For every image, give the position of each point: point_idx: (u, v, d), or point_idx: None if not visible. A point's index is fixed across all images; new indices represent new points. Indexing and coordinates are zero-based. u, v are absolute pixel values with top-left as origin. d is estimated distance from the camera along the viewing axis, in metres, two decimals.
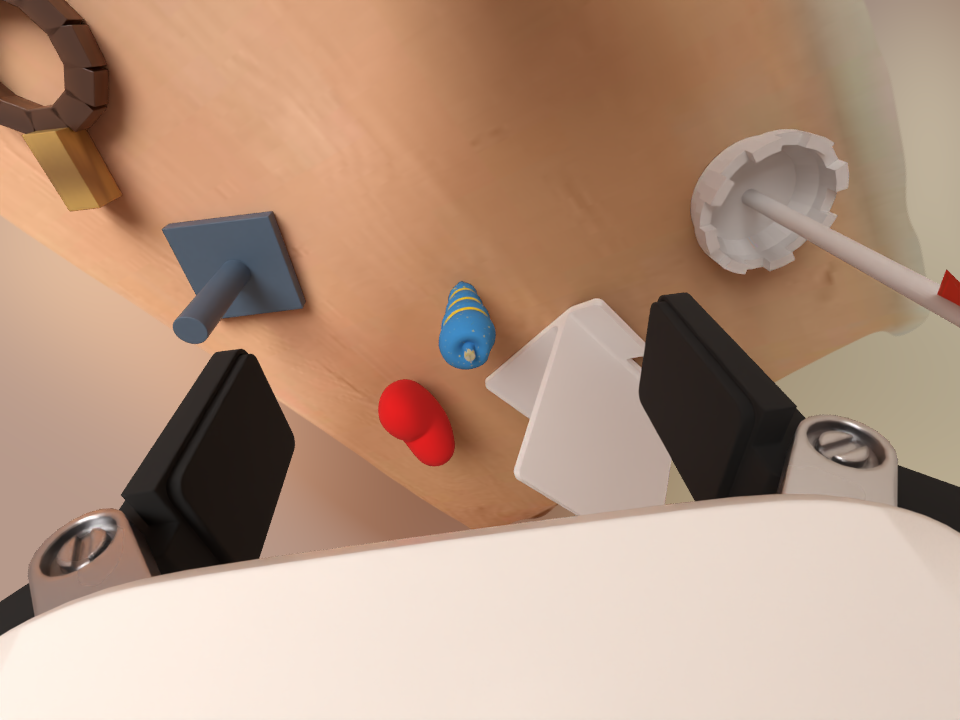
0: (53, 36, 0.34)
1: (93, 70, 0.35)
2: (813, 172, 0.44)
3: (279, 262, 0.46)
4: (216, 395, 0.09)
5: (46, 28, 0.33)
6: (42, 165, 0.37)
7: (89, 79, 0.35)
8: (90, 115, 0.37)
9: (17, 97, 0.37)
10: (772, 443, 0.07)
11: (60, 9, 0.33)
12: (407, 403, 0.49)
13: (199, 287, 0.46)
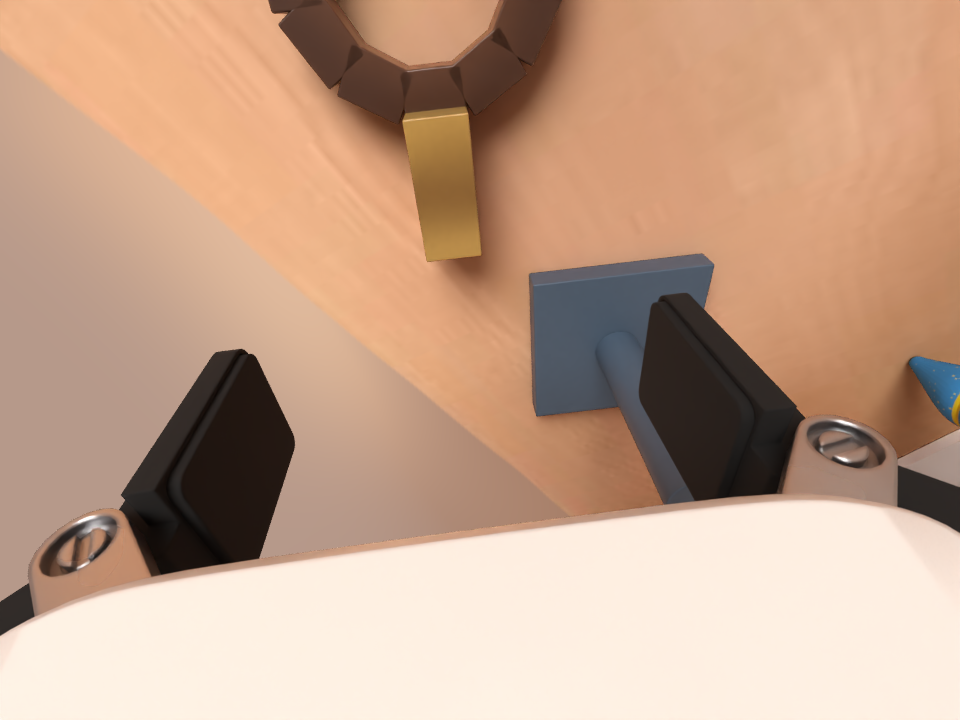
0: None
1: None
2: None
3: None
4: (216, 394, 0.09)
5: None
6: (416, 179, 0.19)
7: (550, 7, 0.17)
8: (514, 83, 0.19)
9: (371, 47, 0.19)
10: (772, 443, 0.07)
11: None
12: None
13: (546, 371, 0.29)
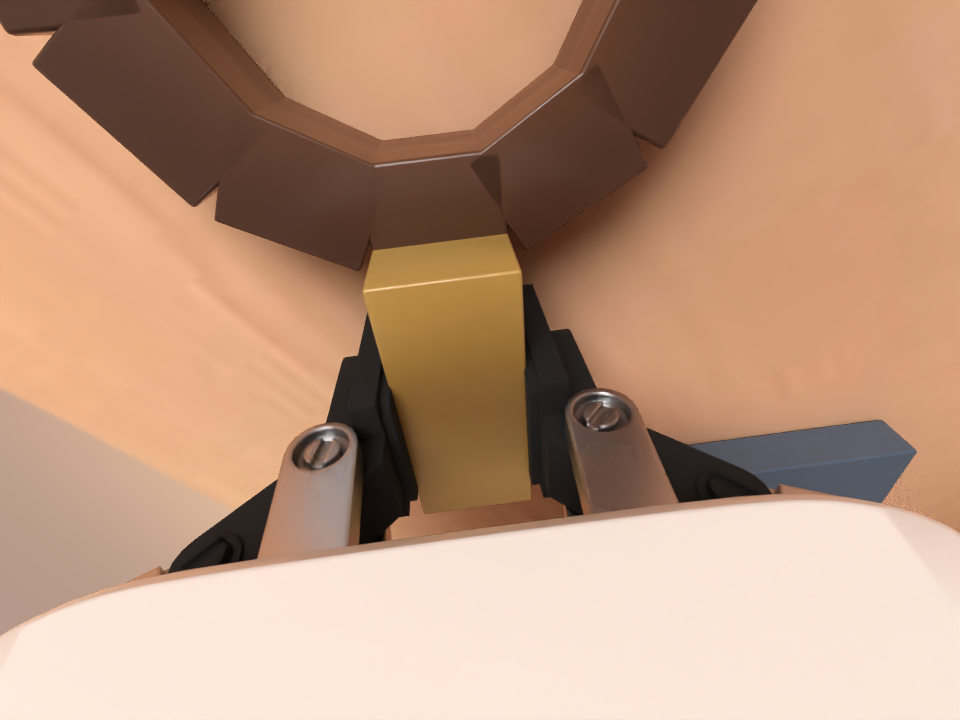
0: None
1: None
2: None
3: None
4: None
5: None
6: (399, 396, 0.09)
7: (728, 16, 0.07)
8: (615, 184, 0.08)
9: (296, 106, 0.09)
10: (560, 414, 0.08)
11: None
12: None
13: None
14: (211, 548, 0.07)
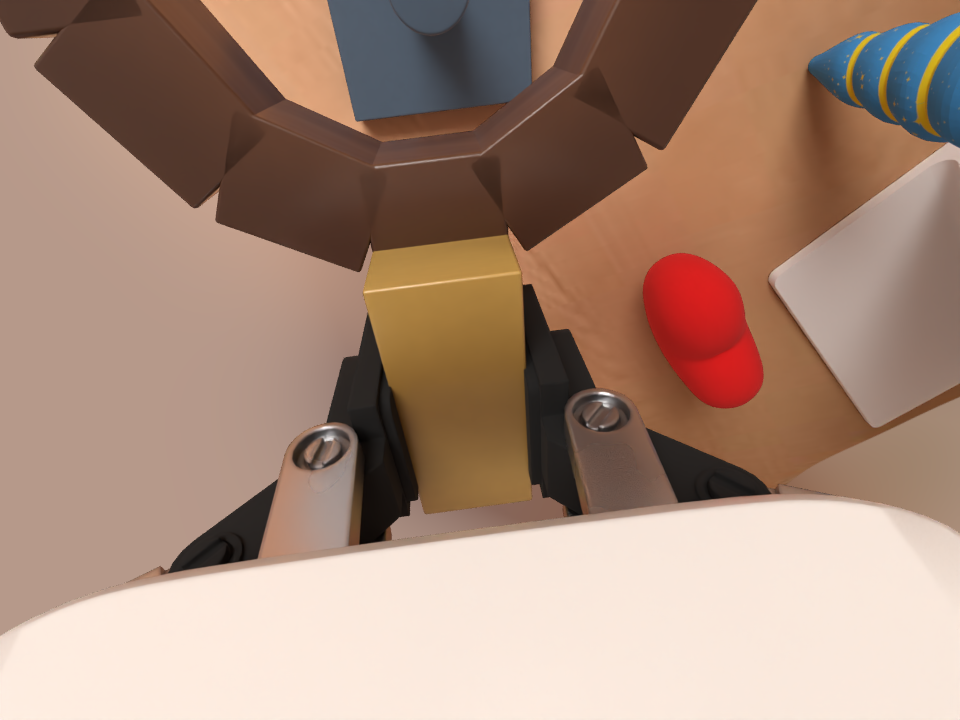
0: None
1: None
2: None
3: None
4: None
5: None
6: (400, 396, 0.09)
7: (727, 17, 0.07)
8: (615, 185, 0.09)
9: (296, 107, 0.09)
10: (560, 414, 0.08)
11: None
12: (728, 280, 0.26)
13: (350, 37, 0.23)
14: (212, 548, 0.07)
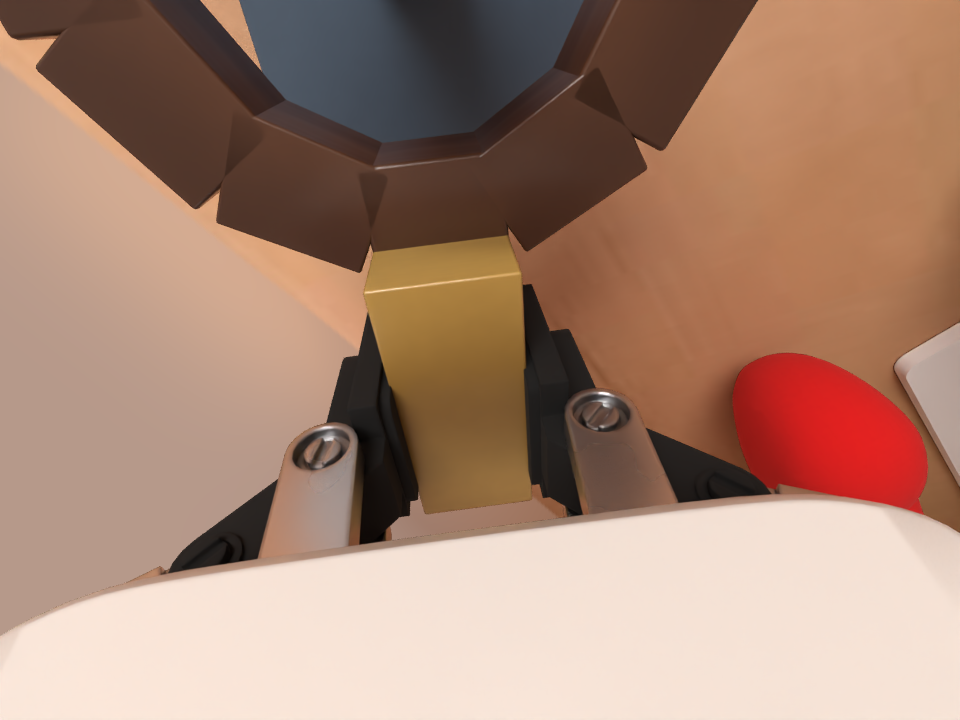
0: None
1: None
2: None
3: None
4: None
5: None
6: (400, 397, 0.09)
7: (726, 19, 0.07)
8: (615, 186, 0.09)
9: (297, 108, 0.09)
10: (559, 414, 0.08)
11: None
12: (908, 421, 0.16)
13: (268, 11, 0.13)
14: (212, 548, 0.07)
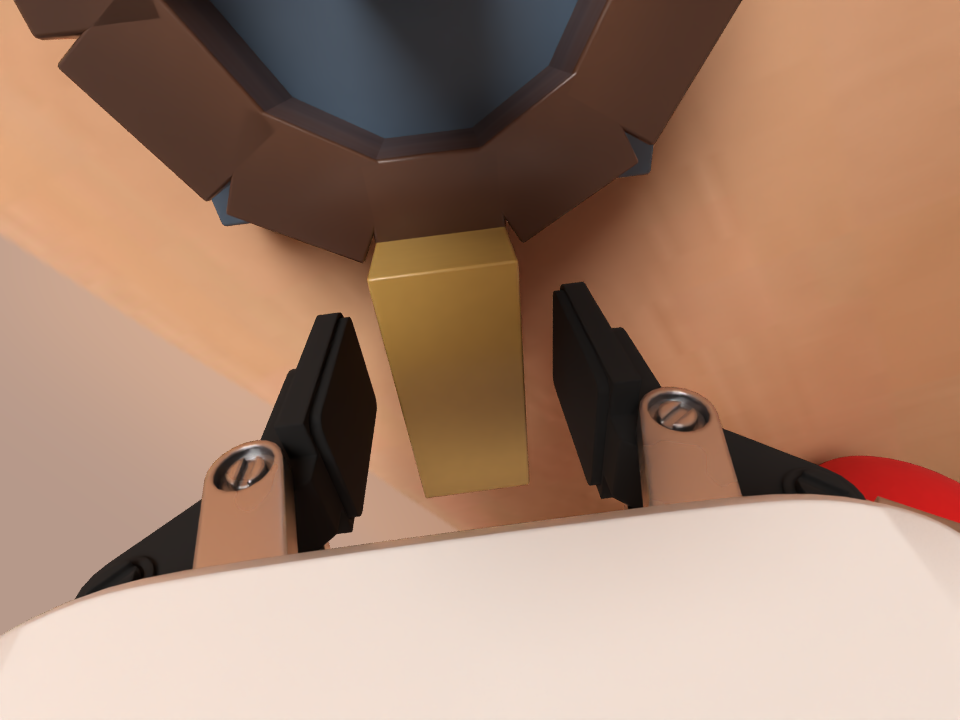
0: None
1: None
2: None
3: None
4: (329, 350, 0.10)
5: None
6: (402, 381, 0.09)
7: (712, 19, 0.07)
8: (607, 179, 0.09)
9: (303, 105, 0.09)
10: (628, 414, 0.08)
11: None
12: None
13: None
14: (121, 573, 0.07)
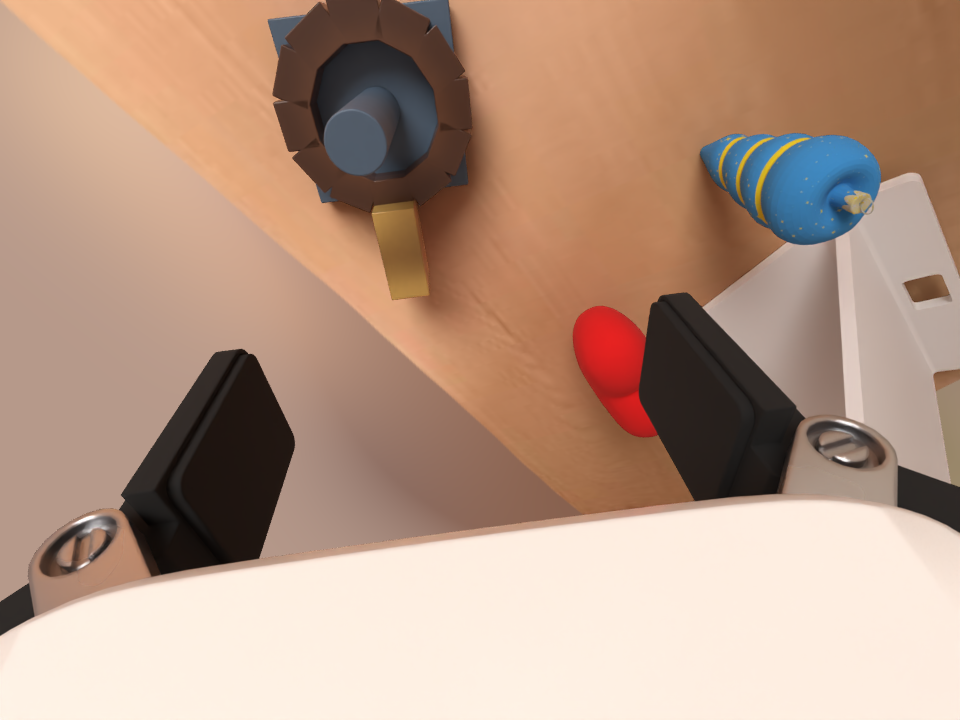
0: (439, 92, 0.26)
1: (468, 132, 0.28)
2: None
3: None
4: (216, 394, 0.09)
5: (432, 82, 0.26)
6: (382, 248, 0.29)
7: (462, 143, 0.28)
8: (444, 186, 0.29)
9: None
10: (772, 443, 0.07)
11: (457, 59, 0.26)
12: (634, 332, 0.31)
13: None
14: None
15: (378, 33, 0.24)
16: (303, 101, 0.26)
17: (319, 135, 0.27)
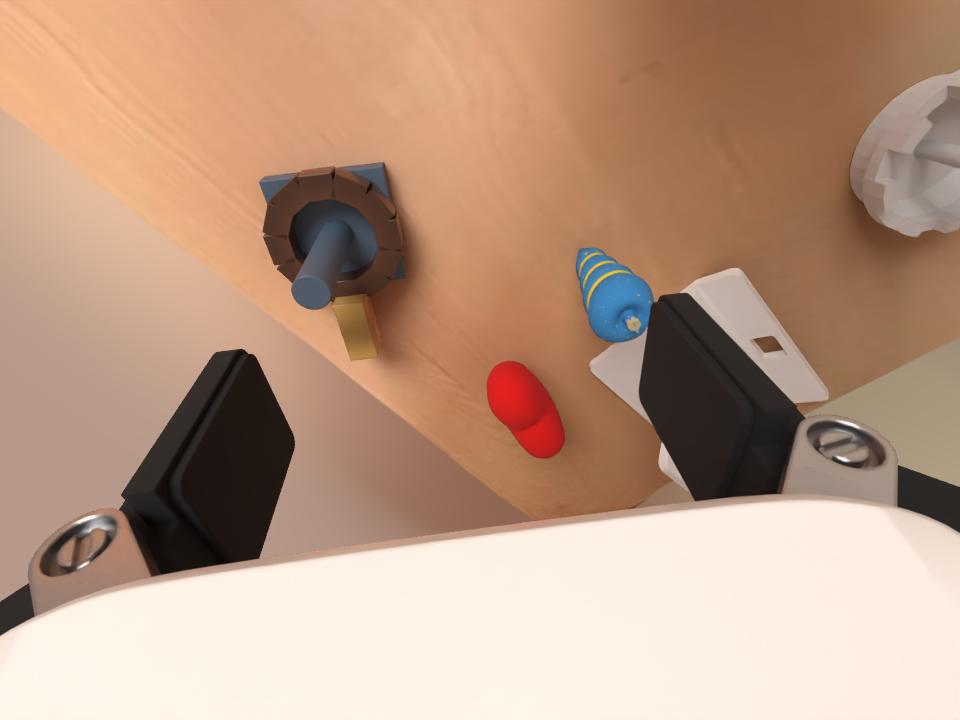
0: (377, 228, 0.38)
1: (400, 250, 0.40)
2: None
3: None
4: (216, 394, 0.09)
5: (372, 221, 0.38)
6: (341, 328, 0.41)
7: (396, 258, 0.40)
8: (385, 284, 0.41)
9: None
10: (772, 443, 0.07)
11: (389, 207, 0.37)
12: (524, 386, 0.43)
13: None
14: None
15: (333, 195, 0.36)
16: (283, 235, 0.38)
17: (295, 254, 0.39)
